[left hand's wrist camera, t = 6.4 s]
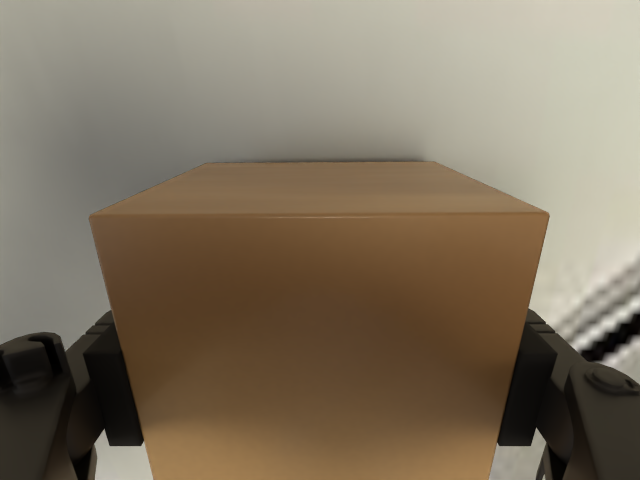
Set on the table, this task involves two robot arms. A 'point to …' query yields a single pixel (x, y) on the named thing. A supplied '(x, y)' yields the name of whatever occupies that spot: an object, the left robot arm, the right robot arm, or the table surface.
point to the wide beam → (320, 318)
